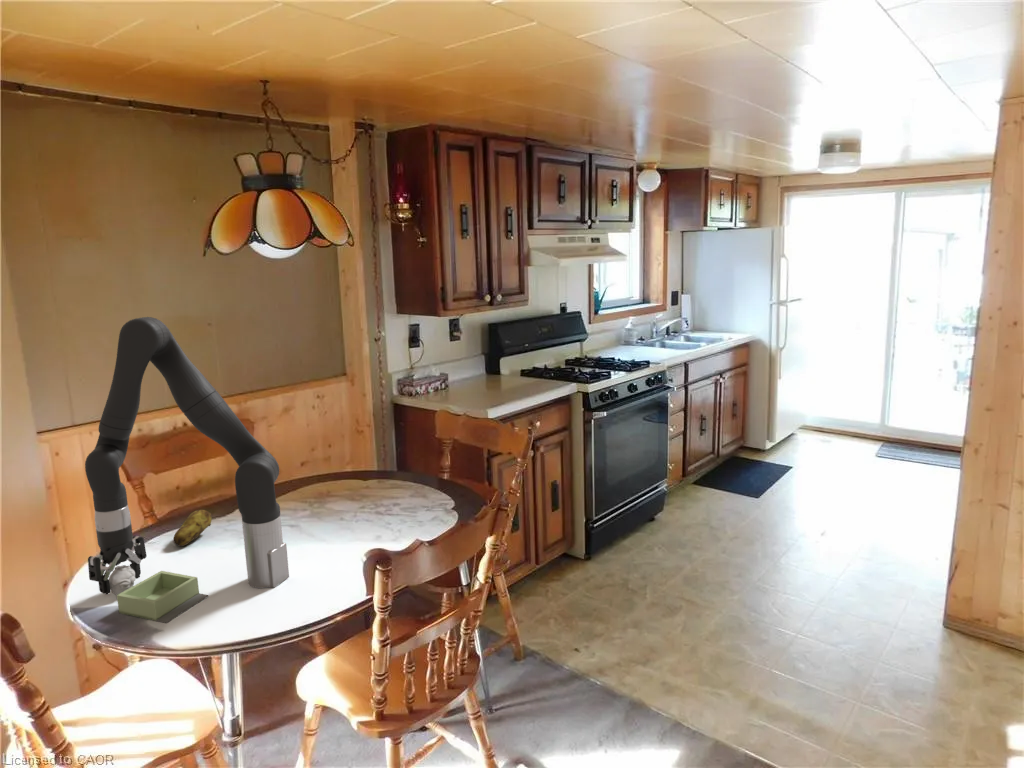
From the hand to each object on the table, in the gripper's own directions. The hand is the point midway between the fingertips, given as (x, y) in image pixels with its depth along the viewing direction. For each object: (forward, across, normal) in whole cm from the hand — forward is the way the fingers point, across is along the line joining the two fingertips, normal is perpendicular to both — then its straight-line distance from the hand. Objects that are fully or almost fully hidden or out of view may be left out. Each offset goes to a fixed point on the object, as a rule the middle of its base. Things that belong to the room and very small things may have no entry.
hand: (121, 585), depth 169 cm
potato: (+2, +31, +8) cm, 32 cm away
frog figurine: (+2, 0, 0) cm, 2 cm away
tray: (+2, -1, -15) cm, 15 cm away
